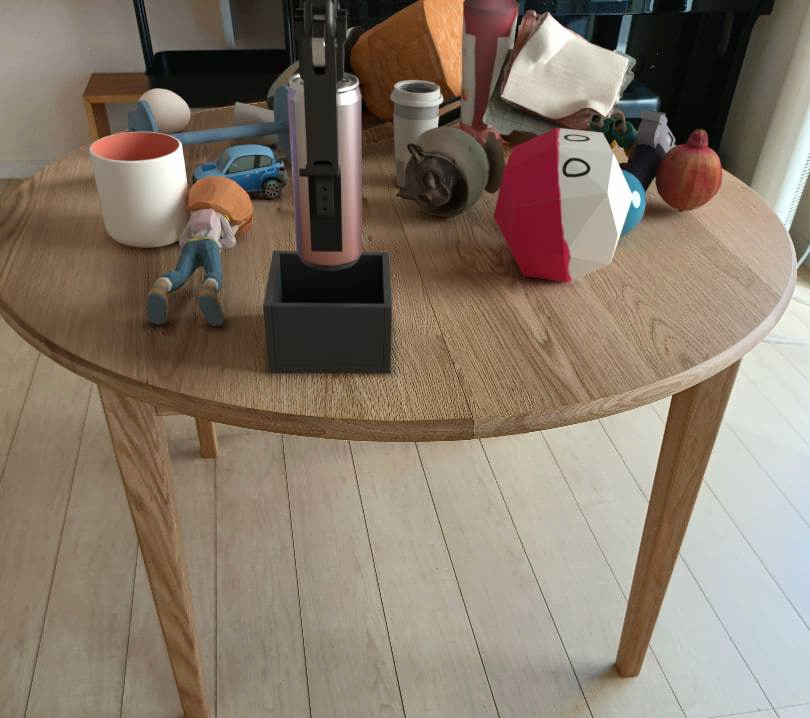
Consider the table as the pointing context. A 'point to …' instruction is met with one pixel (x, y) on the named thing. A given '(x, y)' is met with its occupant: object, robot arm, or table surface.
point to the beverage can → (349, 175)
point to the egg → (167, 110)
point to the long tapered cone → (253, 115)
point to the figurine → (205, 245)
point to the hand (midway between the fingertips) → (328, 233)
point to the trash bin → (328, 316)
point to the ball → (633, 204)
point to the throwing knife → (388, 128)
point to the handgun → (650, 147)
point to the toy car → (250, 168)
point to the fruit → (689, 174)
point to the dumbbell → (146, 123)
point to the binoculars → (616, 133)
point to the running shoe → (284, 78)
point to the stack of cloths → (555, 80)
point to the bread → (410, 53)
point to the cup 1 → (141, 187)
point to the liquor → (483, 58)
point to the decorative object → (562, 204)
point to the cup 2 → (413, 116)
